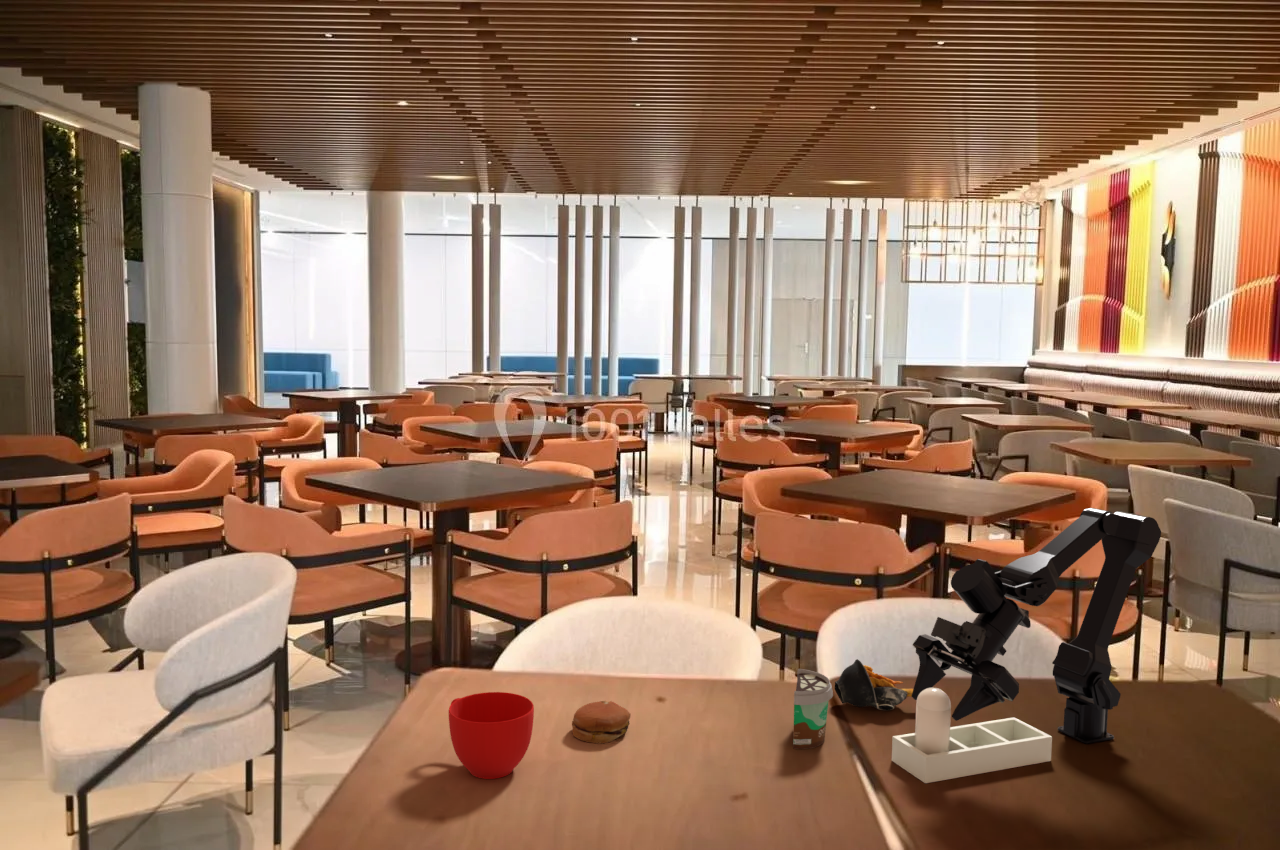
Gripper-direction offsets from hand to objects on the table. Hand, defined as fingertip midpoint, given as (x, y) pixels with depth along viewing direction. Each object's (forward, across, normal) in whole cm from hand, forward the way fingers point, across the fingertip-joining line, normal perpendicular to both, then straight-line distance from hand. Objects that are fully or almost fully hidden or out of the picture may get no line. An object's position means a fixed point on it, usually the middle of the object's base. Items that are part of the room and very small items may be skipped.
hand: (933, 708), depth 157 cm
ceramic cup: (+52, -28, -39) cm, 71 cm away
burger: (+37, -33, -23) cm, 55 cm away
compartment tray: (+1, 0, +12) cm, 12 cm away
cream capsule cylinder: (+6, 0, +6) cm, 8 cm away
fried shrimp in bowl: (0, -24, +14) cm, 27 cm away
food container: (+14, -17, -1) cm, 22 cm away
